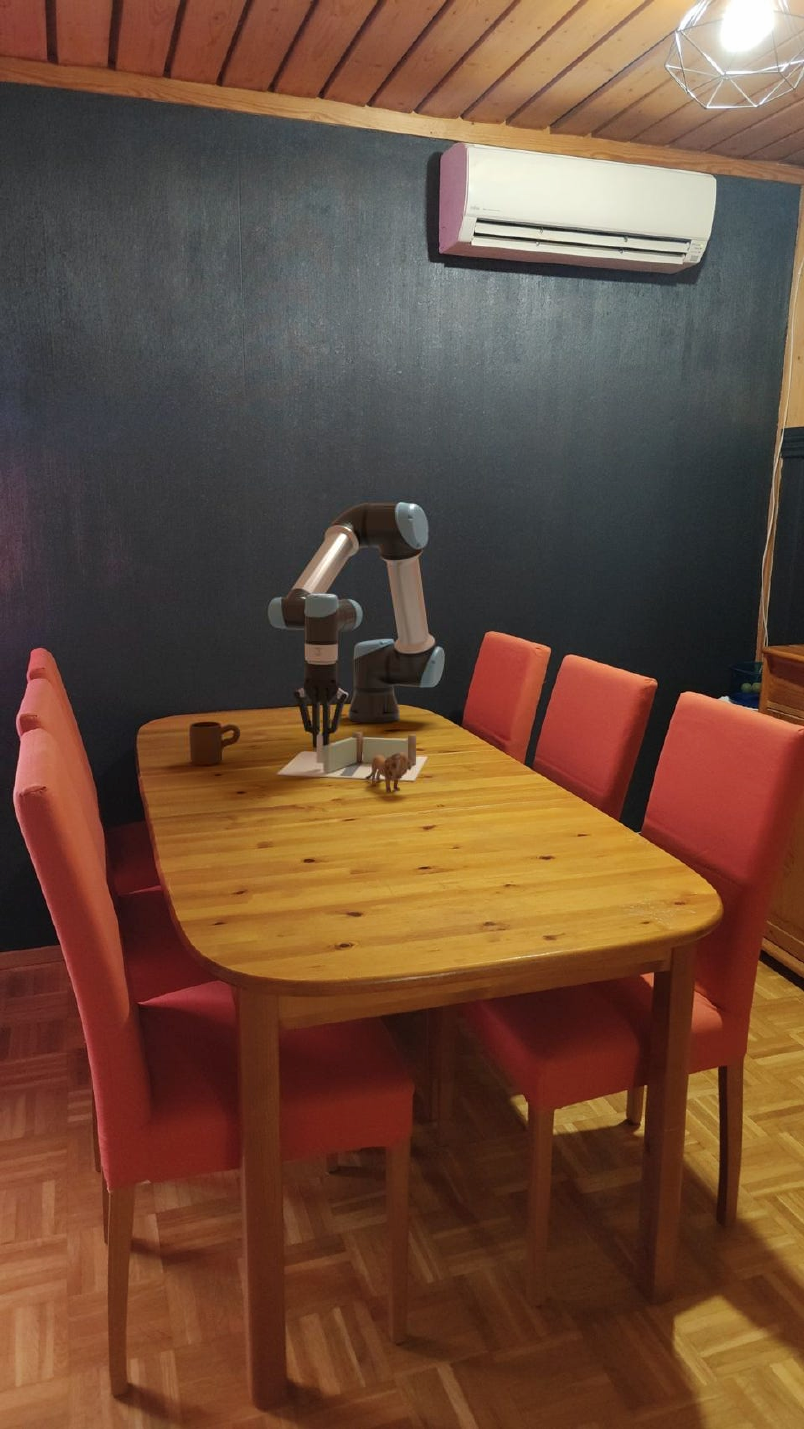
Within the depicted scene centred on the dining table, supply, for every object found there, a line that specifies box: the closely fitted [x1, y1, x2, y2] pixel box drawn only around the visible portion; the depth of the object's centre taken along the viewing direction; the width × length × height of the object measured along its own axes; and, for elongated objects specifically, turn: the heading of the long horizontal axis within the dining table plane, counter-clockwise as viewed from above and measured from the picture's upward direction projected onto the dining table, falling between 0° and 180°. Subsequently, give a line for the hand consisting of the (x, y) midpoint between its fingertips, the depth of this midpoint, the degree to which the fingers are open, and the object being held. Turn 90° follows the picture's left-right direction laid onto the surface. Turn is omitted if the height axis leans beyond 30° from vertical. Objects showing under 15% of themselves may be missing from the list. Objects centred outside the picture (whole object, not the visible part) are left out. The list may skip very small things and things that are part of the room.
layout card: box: [276, 750, 429, 783], centre depth 230 cm, size 22×32×1 cm
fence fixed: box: [351, 731, 417, 765], centre depth 231 cm, size 2×16×7 cm, turn 81°
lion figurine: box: [365, 753, 413, 794], centre depth 211 cm, size 15×5×9 cm, turn 40°
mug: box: [188, 721, 241, 767], centre depth 232 cm, size 12×8×9 cm, turn 102°
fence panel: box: [323, 736, 357, 772], centre depth 226 cm, size 2×11×6 cm, turn 147°
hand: (321, 761), depth 225 cm, fingers closed
